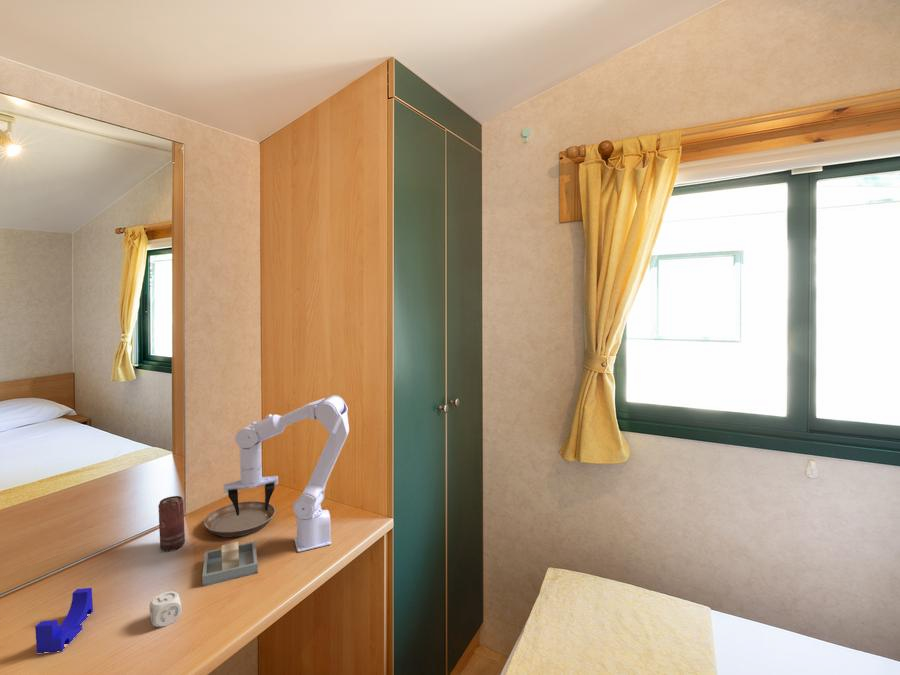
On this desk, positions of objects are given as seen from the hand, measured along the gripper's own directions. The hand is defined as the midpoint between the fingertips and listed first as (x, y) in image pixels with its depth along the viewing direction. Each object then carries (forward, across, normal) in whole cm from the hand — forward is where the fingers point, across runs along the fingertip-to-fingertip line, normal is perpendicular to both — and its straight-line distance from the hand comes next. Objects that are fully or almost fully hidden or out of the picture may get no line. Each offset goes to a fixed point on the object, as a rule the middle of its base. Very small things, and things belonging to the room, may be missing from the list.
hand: (252, 511), depth 130 cm
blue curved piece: (+10, -37, -22) cm, 44 cm away
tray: (+9, -6, -11) cm, 16 cm away
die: (+10, -19, -27) cm, 34 cm away
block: (+9, -6, -11) cm, 15 cm away
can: (+10, -21, +8) cm, 24 cm away
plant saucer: (+10, -3, +14) cm, 17 cm away
